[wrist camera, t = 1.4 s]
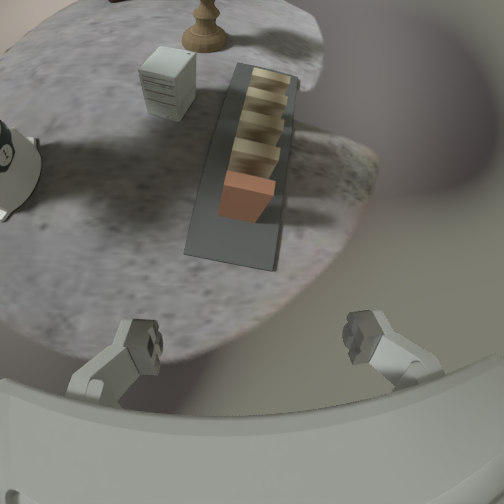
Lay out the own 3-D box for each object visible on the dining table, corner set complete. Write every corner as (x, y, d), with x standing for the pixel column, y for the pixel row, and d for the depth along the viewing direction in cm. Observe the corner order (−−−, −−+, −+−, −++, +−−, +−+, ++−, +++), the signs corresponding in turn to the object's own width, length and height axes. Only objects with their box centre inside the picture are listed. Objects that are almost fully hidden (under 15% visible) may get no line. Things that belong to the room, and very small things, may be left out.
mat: (183, 254, 42) (183, 253, 41) (237, 64, 51) (237, 62, 50) (271, 271, 44) (272, 270, 43) (296, 79, 52) (297, 77, 52)
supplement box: (164, 89, 46) (160, 44, 34) (196, 98, 47) (198, 51, 35) (146, 114, 45) (136, 69, 32) (179, 123, 45) (176, 77, 33)
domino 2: (235, 138, 46) (246, 95, 34) (237, 130, 46) (248, 86, 35) (268, 146, 47) (286, 105, 35) (269, 137, 47) (287, 96, 35)
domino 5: (217, 215, 43) (223, 184, 31) (220, 203, 43) (227, 170, 32) (254, 223, 44) (273, 195, 32) (256, 211, 44) (275, 181, 32)
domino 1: (240, 118, 47) (251, 74, 35) (242, 110, 47) (253, 67, 36) (271, 125, 48) (289, 84, 36) (272, 118, 48) (290, 76, 36)
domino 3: (230, 161, 45) (239, 120, 33) (232, 152, 45) (242, 109, 34) (264, 169, 46) (283, 130, 34) (265, 159, 46) (284, 119, 34)
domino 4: (224, 187, 44) (231, 149, 32) (226, 176, 44) (235, 137, 33) (259, 194, 45) (278, 160, 33) (261, 184, 45) (280, 148, 33)
